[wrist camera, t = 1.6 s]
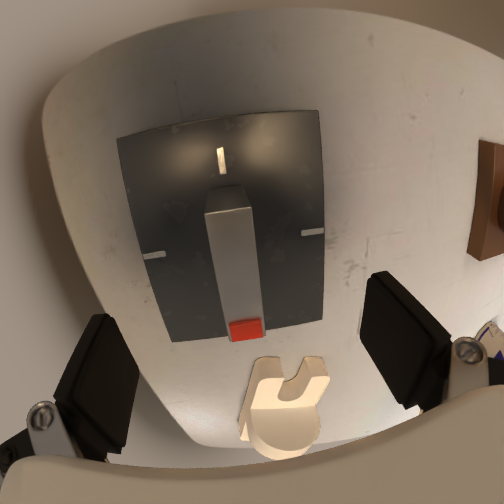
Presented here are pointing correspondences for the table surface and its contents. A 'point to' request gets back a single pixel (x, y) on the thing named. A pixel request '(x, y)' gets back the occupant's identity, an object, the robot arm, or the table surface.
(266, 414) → the slotted bracket
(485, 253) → the brown button mount
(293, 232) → the plate
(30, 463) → the robot arm
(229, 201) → the tap handle
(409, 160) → the table surface
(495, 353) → the energy drink
